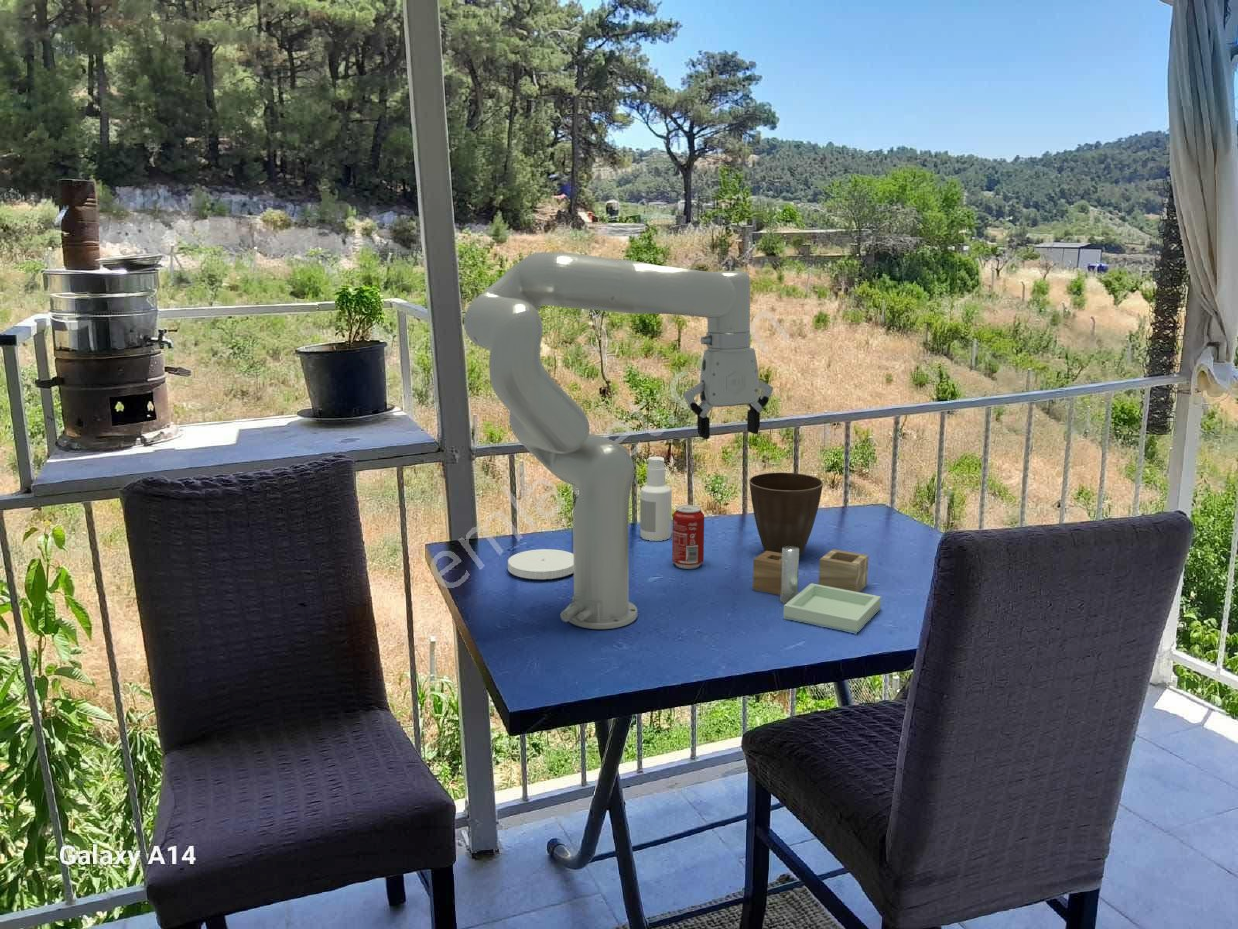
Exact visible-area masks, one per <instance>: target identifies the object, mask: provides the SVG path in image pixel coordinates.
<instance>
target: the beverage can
mask: <svg viewBox="0 0 1238 929" xmlns="http://www.w3.org/2000/svg"><path fill="white" fill-rule="evenodd" d="M704 544H705V513H703V511H702V507H701V506H699V505H696V504H695V505H694V504H682V505H678V506H676V508H675V511H674V513H673V514H672V544H671V545H672V547H671V548H672V554H671V556H672V557H671V558H672V559H671V561H672V562H673V563H674V564H675V566H676V567H677V568H680V569H685V570H693V569H697V568H699V567H700V565H702V564H703V563H704V553H705V551H704V550H705V548H704V547H705V545H704Z"/></svg>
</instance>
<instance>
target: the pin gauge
mask: <svg viewBox="0 0 1238 929" xmlns="http://www.w3.org/2000/svg"><path fill="white" fill-rule="evenodd" d="M799 561H800V558H799V548H797V547H794V546H785V547H783V548H782V566H781V593H780V595H779V598H780V600H779V601H780V603H782V602H784V603H783V604H785V603H787V602H789V601H790V600H791V599H792V598H794V597H795V596H796V595H797V594H798V587H799V586H798V584H799V564H800V563H799Z"/></svg>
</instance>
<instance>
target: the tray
mask: <svg viewBox="0 0 1238 929" xmlns="http://www.w3.org/2000/svg"><path fill="white" fill-rule="evenodd" d="M881 603H882V596H881V595H875V594H870V593H864V592H861V591H860V592H855V591H849V590H844V589H839V588H834V587H829V586H823V585H819V583H818V584H817V583H812V582H811V583H809V584H808V585H807V586H806V587H805V588H803V589H802V590H801V591H799V592H798V593H797V595H796V596H795V597H794V598H792V599H791V600H790V601H789V602H787V603H786V604H785V603H784V604H783V612H782V613H783V616H782V618H785V619H784V620H786V619H791V620H796V621H801V622H804V623H812V624H815V625H820V626H827V627H831V628H835V629H840V630H846V631H852V632H855V633H857V632H858V631H859V630H860V629H861V628H862V627H863V626H864V625H865V624H866V623H867V622H868V621H869V620H870V619H871V618H872V617H873V616H874V615H875V614H876V613H877V612H878V611H879V610H881V605H882V604H881ZM879 612H880V611H879ZM879 612H878V613H879ZM878 613H877V614H878ZM877 614H876V615H877ZM876 615H875V616H876ZM875 616H874V617H875ZM874 617H873V618H874ZM873 618H872V619H873ZM872 619H871V620H872ZM871 620H870V621H871ZM870 621H869V622H870ZM869 622H868V623H869ZM804 623H803V624H804ZM868 623H867V624H868ZM867 624H866V625H867ZM866 625H865V626H866ZM865 626H864V627H865Z"/></svg>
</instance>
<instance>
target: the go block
mask: <svg viewBox="0 0 1238 929" xmlns="http://www.w3.org/2000/svg"><path fill="white" fill-rule="evenodd" d="M868 569H869V555H868V554H864V553H858V552H851V551H847V550H840V549H834V548H832V549H831V550H830V551H828V552H827V553H826V554H824V555H823V556H822V557H821V558H819V572H818V585H823V586H829V587H834V588H839V589H844V590H849V591H855V592H860V593H861V591H862V590H863V589H864V588H865V587H867V584H868V573H869V570H868Z"/></svg>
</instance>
